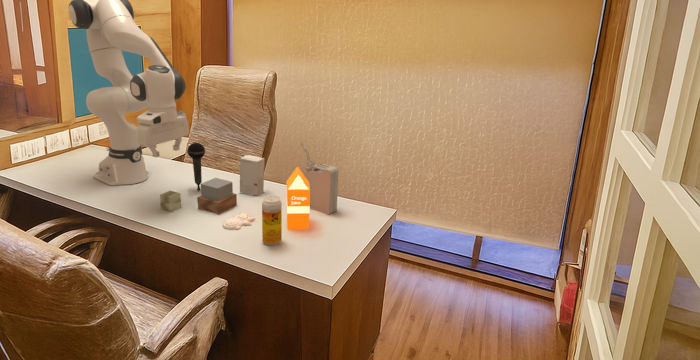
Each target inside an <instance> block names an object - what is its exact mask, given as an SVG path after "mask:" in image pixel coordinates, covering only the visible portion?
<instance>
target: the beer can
mask: <svg viewBox="0 0 700 360" xmlns="http://www.w3.org/2000/svg"><path fill="white" fill-rule="evenodd" d="M282 210H283V209H282V200H281V198H280V197H279V196H275V195H269V196H264V198H263V199H262V201H261V227H262V229H261V230H262V231H261V232H262V235H261V236H262V237H261V238H262V242H263V244H265V245H267V246H272V247H273V246H276V245H279V244H280V243H281V242H282V239H283V238H282V233H283V232H282V223H283V221H282V218H283V217H282Z"/></svg>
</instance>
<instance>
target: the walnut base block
mask: <svg viewBox="0 0 700 360" xmlns="http://www.w3.org/2000/svg"><path fill="white" fill-rule="evenodd" d="M237 195H238V194H237V193H234V192H233V194H232V195H230V196H228V197H226V198H224V199H222V200H220V201H215V200H212V199H208V198H204V197H201V195H198V196H197V197H196V201H197V209H198V210H201V211H204V212H207V213H213V214H216V215H219V216H220V215H221V214H224V213H225V212H227V211H229V210H231V209H233V208H234V207H237V206H238V198H237Z"/></svg>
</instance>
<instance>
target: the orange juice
mask: <svg viewBox="0 0 700 360" xmlns="http://www.w3.org/2000/svg"><path fill="white" fill-rule="evenodd" d="M309 205H310V187H309V182H308V180H307V179H306V178H305V176H304V173H303V172H302V171H301V169H300V167H299V166H297V167H296V168H295V169H294V171H293V172H292V173H291V175H290V176H289V178H288V179H287V180H286V228H287V230H309V229H310V209H311V208H310V206H309Z"/></svg>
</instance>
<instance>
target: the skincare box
mask: <svg viewBox="0 0 700 360" xmlns="http://www.w3.org/2000/svg"><path fill="white" fill-rule="evenodd" d="M239 161H240V163H239V193H240V194H246V195H252V196H255V197H258V196H259V195H260V194H262V193H264V186H265V184H264V182H265V157H261V156H256V155H250V154H246V155H244V156H241V157H240V159H239Z"/></svg>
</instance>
